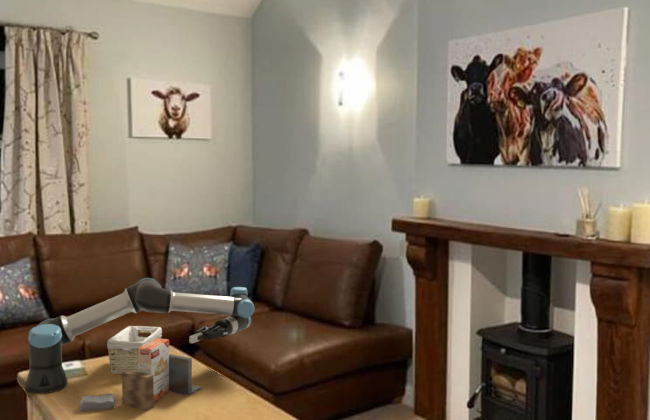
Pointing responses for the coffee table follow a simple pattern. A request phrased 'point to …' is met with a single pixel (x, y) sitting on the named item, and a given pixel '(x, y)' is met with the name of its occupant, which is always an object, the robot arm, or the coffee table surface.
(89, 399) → the stone block
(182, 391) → the bookend
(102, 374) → the coffee table surface
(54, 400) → the coffee table surface
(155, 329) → the storage basket
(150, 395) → the end block
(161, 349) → the cracker box
